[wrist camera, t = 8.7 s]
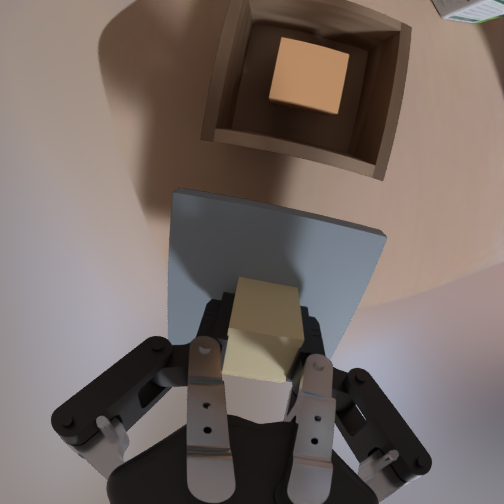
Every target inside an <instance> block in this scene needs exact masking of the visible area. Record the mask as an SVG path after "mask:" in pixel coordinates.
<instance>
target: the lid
mask: <svg viewBox="0 0 504 504" xmlns="http://www.w3.org/2000/svg"><path fill="white" fill-rule="evenodd" d="M386 239H387V236H386V235H385V234H384V233H383V232H382V231H381V230H379V229H375V228H371V227H367V226H363V225H359V224H355V223H352V222H347V221H343V220H339V219H335V218H331V217H327V216H323V215H318V214H314V213H309V212H305V211H300V210H296V209H291V208H287V207H282V206H277V205H272V204H267V203H262V202H257V201H252V200H247V199H242V198H237V197H231V196H226V195H220V194H214V193H209V192H203V191H197V190H191V189H184V188H178V189H177V190H176V191H174V192H173V197H172V209H171V222H170V239H169V261H168V340H169V341H170V342H171V344H172V345H183V344H187V343H190V342H191V341H192V340H193V339H194V338H195V337H196V335H197V332H198V329H199V326H200V322H201V319H202V317H203V313H204V310H205V307H206V304H207V303H208V302H209V301H210V300H211V299H217V300H222V296H223V292H229V293H234V294H235V299H234V304H233V309H232V314H231V319H230V324H229V329H228V334H227V336H229V338H228V343H227V348H226V354H225V359H224V365H223V370H222V373H224V374H229V375H234V376H240V377H246V378H252V379H258V380H265V381H273V382H281V383H285V381H286V376H287V374H288V372H289V370H290V367H291V365H292V363H293V361H294V359H295V356H296V354H297V352H298V350H299V348H301V346H302V344H303V342H304V332H303V324H302V316H301V308H300V306H306V307H308V312H309V316H312V317H315V318H316V319H317V321H318V322H319V324H320V329H321V334H322V339H323V344H324V350H325V355H326V357H327V358H328V359H329V360H330V359H331V357H332V355H333V353H334V351H335V350H336V348H337V346H338V344H339V342H340V340H341V339H342V337H343V335H344V333H345V331H346V329H347V327H348V325H349V323H350V321H351V319H352V317H353V315H354V313H355V311H356V309H357V307H358V305H359V303H360V301H361V299H362V296H363V294H364V292H365V290H366V288H367V285H368V283H369V281H370V279H371V276H372V274H373V272H374V269H375V267H376V265H377V262H378V260H379V257H380V255H381V252H382V250H383V247H384V245H385V242H386Z"/></svg>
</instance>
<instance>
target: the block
mask: <svg viewBox="0 0 504 504" xmlns="http://www.w3.org/2000/svg"><path fill="white" fill-rule="evenodd" d="M348 59H349V54H346V53H343V52H340V51H337V50H333V49H330V48H326V47H323V46H319V45H315V44H311V43H307V42H302V41H298V40H293V39H288V38H283V37H282V38H281V42H280V47H279V52H278V56H277V61H276V66H275V70H274V75H273V80H272V85H271V90H270V95H269V103H271V104H276V105H281V106H286V107H291V108H295V109H299V110H304V111H308V112H312V113H315V114H319V115H323V116H327V115H333V114H338V110H339V105H340V100H341V95H342V90H343V85H344V80H345V75H346V70H347V64H348Z"/></svg>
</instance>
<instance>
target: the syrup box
mask: <svg viewBox="0 0 504 504" xmlns="http://www.w3.org/2000/svg"><path fill="white" fill-rule="evenodd" d="M432 1H433V3H434V5H435V7H436V8H437V10H438V12H439V14H440V16H441V18H442V19H450V20H456V21H463V22H470V23H476V24H480V23H483V22H486V21H489V20H493V19H496V18H500V17H503V16H504V0H432Z"/></svg>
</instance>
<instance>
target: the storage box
mask: <svg viewBox="0 0 504 504" xmlns="http://www.w3.org/2000/svg"><path fill="white" fill-rule="evenodd" d="M411 30H412V27H410V26H408V25H406V24H404V23H402V22H400V21H398V20H396V19H394V18H391V17H389V16H387V15H384V14H382V13H380V12H377V11H375V10H372V9H369V8H367V7H364V6H361V5H358V4H356V3H353V2H350V1H346V0H230V3H229V6H228V10H227V14H226V17H225V21H224V25H223V29H222V33H221V37H220V41H219V46H218V50H217V54H216V59H215V63H214V68H213V73H212V78H211V83H210V88H209V93H208V98H207V104H206V109H205V115H204V121H203V127H202V133H201V139H200V140H205V141H213V142H220V143H226V144H232V145H238V146H244V147H250V148H255V149H261V150H266V151H271V152H276V153H280V154H285V155H290V156H294V157H298V158H303V159H307V160H311V161H315V162H319V163H323V164H327V165H330V166H334V167H338V168H341V169H345V170H348V171H352V172H355V173H358V174H362V175H365V176H368V177H371V178H375V179H378V180H381V181H383V179H384V176H385V172H386V169H387V165H388V161H389V157H390V153H391V150H392V145H393V141H394V137H395V133H396V128H397V124H398V119H399V114H400V109H401V104H402V99H403V93H404V87H405V81H406V74H407V67H408V60H409V51H410V42H411ZM282 37H283V38H288V39H293V40H298V41H302V42H307V43H311V44H315V45H319V46H323V47H326V48H330V49H333V50H337V51H340V52H343V53H346V54H349V59H348V64H347V70H346V75H345V80H344V85H343V90H342V95H341V100H340V105H339V110H338V114H333V115H327V116H323V115H319V114H315V113H312V112H308V111H304V110H299V109H295V108H291V107H286V106H281V105H276V104H271V103H269V95H270V90H271V85H272V80H273V75H274V70H275V66H276V61H277V56H278V52H279V47H280V42H281V38H282Z"/></svg>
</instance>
